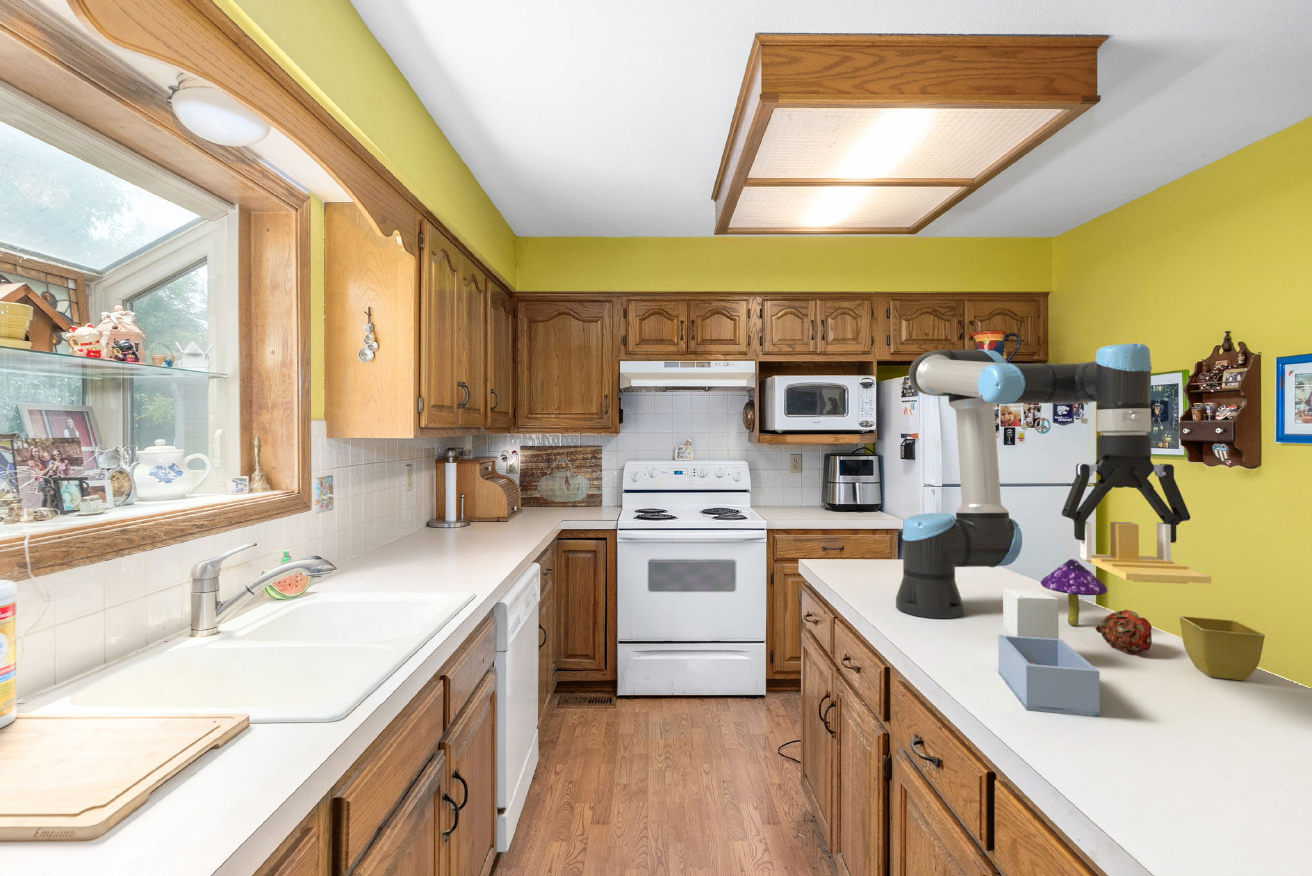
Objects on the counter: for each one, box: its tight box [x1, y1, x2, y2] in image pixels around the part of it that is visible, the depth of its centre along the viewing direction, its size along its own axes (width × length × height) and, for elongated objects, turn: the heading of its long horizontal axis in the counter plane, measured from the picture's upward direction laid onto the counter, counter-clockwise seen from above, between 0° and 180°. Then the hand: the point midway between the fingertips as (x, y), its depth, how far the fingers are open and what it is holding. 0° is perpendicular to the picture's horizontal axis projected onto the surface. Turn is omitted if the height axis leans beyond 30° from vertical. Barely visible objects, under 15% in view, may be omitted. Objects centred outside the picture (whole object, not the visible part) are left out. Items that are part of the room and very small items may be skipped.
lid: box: [1081, 521, 1212, 585], centre depth 101 cm, size 16×11×8 cm
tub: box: [997, 634, 1101, 718], centre depth 102 cm, size 15×10×7 cm, turn 165°
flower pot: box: [1179, 615, 1266, 681], centre depth 109 cm, size 9×9×9 cm
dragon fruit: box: [1095, 609, 1153, 654], centre depth 122 cm, size 8×8×12 cm
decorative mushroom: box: [1040, 558, 1108, 627], centre depth 137 cm, size 12×12×15 cm
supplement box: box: [1002, 588, 1060, 639], centre depth 118 cm, size 7×7×13 cm
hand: (1124, 560), depth 106 cm, fingers closed on lid, 11 cm apart
